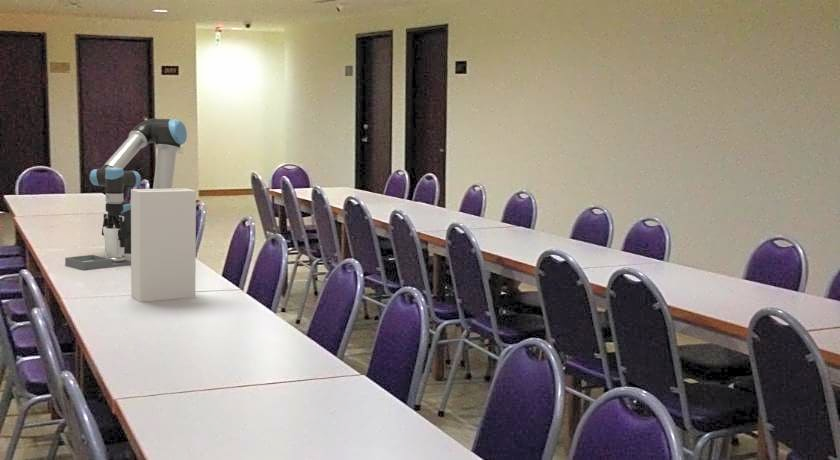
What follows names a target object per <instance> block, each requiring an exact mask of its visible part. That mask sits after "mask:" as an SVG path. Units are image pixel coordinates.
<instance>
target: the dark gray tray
mask: <svg viewBox="0 0 840 460" xmlns="http://www.w3.org/2000/svg"><path fill="white" fill-rule="evenodd" d="M105 257H106V256H100V255H95V254H90V255H89V254H88V255H78V256H71V257H70V256H69V257H65V258H64V263H65V267H69V268H73V269H77V270H82V271H88V270H89V271H90V270H91V271H92V270H99V269H106V268H115V267H123V266H125V267H126V266H131V260H128V259H125V261H124V262H112V259H109V258H105Z"/></svg>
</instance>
